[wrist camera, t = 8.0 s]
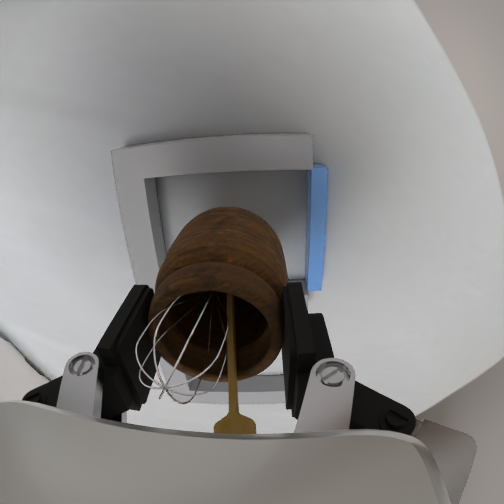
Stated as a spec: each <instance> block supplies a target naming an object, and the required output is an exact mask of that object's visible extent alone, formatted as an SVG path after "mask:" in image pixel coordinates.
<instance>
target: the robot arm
mask: <svg viewBox="0 0 504 504" xmlns="http://www.w3.org/2000/svg"><path fill="white" fill-rule="evenodd" d="M153 296H154V291H153V289H152V288H149V286H148V285H134V286H133V288H132V289H131V291H130V292H129V294H128V296H127V297H126V299H125V300H124V302H123V304H122V305H121V307H120V308H119V310H118V312H117V313H116V315H115V317H114V318H113V320H112V321H111V323H110V325H109V326H108V328H107V330H106V332H105V333H104V335H103V337H102V338H101V340H100V342H99V344H98V345H97V347H96V349H95V351H94V352H93V353H91V352H82V353H78V354H76V355H74V356H73V357H71V358H70V359H69V360H68V361H67V363H66V365H65V369H64V373H63V376H61V377H59V378H56V379H54V380H52V381H50V382H48V383H46V384H43V385H41V386H39V387H37V388H35V389H33V390H31V391H29V392H27V393H26V394H25V395H24V397H23V399H22V401H21V400H10V401H2V402H0V504H459V501H460V499H461V496H462V493H463V491H464V488H465V486H466V483H467V480H468V477H469V474H470V471H471V468H472V465H473V462H474V459H475V455H476V451H477V445H476V442H475V440H474V439H473V437H472V436H470V435H468V434H466V433H464V432H461V431H458V430H454V429H452V428H449V427H446V426H443V425H440V424H438V423H435V422H432V421H429V420H426V419H423V421H420V420H417V419H416V418H415V416H414V414H413V412H412V411H411V410H410V409H409V408H407V407H406V406H404V405H402V404H400V403H398V402H396V401H394V400H392V399H390V398H388V397H386V396H384V395H382V394H380V393H378V392H376V391H374V390H372V389H370V388H368V387H366V386H364V385H363V384H361V383H359V382H357V381H355V370H354V369H353V367H352V366H351V365H350V364H349V363H348V362H346V361H344V360H342V359H338V358H334V355H333V351H332V347H331V343H330V339H329V336H328V332H327V328H326V325H325V321H324V317H323V315H322V313H315V314H308V310H307V305H306V301H305V296H304V292H303V288H302V283H301V282H287V286H282V306H283V316H284V339H283V344H282V360H283V373H284V387H285V401H286V409H292V417H295V418H296V419H297V420H298V421H297V424H296V428H295V431H294V433H281V434H225V433H206V432H192V431H180V430H171V429H162V428H155V427H147V426H141V425H134V424H128V423H127V415H126V411H128V410H129V409H131V410H138V411H140V408H141V405H142V404H145V403H146V401H147V398H148V394H149V391H150V388H148V387H145V386H144V385H143V384H142V383H141V382H140V380H139V371H140V366H139V364H138V362H137V359H136V351H135V349H136V344H137V342H138V340H139V338H140V336H141V335H142V333H143V332H144V330H145V329H146V327H147V326H148V316H149V310H150V305H151V301H152V298H153ZM152 348H153V343H152V341H151V339H150V336H149V331H148V329H147V330H146V332H145V333H144V335H143V336H142V338H141V340H140V342H139V344H138V348H137V354H138V359H139V362H140V364H141V366H142V364H143V363H144V361H145V359H146V358H147V356H148V354H149V353H150V351H151V349H152ZM155 354H156V362H157V367H158V364H159V361H160V359H161V356H160V354H159V353H158V352H157V350H156V349H155ZM143 369H144V371H145V372H146V373H147V374H148V375H149V376H150V377H151V378H152V379H154V376H155V373H156V367H155V362H154V353H153V351H152V352H151V354H150V356H149V357H148V359H147V361H146V362H145V364H144V366H143ZM141 380H142V382H143V383H144V384H145V385H147V386H151V385H152V382H153V381H152V380H151V379H149V378H148V377H147V376H146V375H145V373H144V372H143V371H142V370H141Z"/></svg>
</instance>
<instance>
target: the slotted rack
mask: <svg viewBox="0 0 504 504" xmlns="http://www.w3.org/2000/svg"><path fill="white" fill-rule="evenodd" d="M111 155H112V162H113V170H114V177H115V183H116V190H117V196H118V202H119V207H120V213H121V218H122V224H123V229H124V234H125V238H126V243H127V248H128V252H129V257H130V261H131V265H132V269H133V273H134V278H135V281H136V285H148V286H149V288H152V289H153V291H154V293H155V284H156V279H157V275H158V272H159V269H160V267H161V264H162V262H163V260H164V258H165V257H166V250H165V244H164V238H163V232H162V225H161V219H160V212H159V205H158V198H157V191H156V183H155V177H165V176H176V175H188V174H201V173H216V172H235V171H259V170H308V179H307V232H306V260H305V280H292V281H288V282H301V283H302V288H303V292H304V296H305V301H306V305H307V308H308V291H319V290H321V289H322V277H323V265H324V250H325V234H326V215H327V189H328V168H327V167H326V166H324V165H323V164H313V135H310V134H308V133H273V134H243V135H225V136H211V137H199V138H188V139H179V140H170V141H162V142H154V143H147V144H140V145H133V146H127V147H122V148H119V149H116V150H113V151H111ZM159 362H160V365H161V368H162V371H163V374H164V376H165V379H166V382H167V381H168V378H169V376H170V374H171V372H172V370H173V368H174V367H173V366H171V365H170V364H169V363H167V362H166V361H165V360H164V359H163V358H162V357H161V359H160V361H159ZM192 378H194V377H191V376H189V375H186V374H184V373H182V372H180V371H179V370H177V369H175V371H174V373H173V375H172V377H171V379H170V381H169V383H168V386H173V385H177V384H180V383H183V382H186V381H188V380H190V379H192ZM199 381H200V379H197V378H196V379H194V380H192V381H191V382H188V383H186V384H183V385H181V386H177V387H173V388H169V389H171V390H173V391H176V392H179V393H184V394H194V393H195V391H196V388H197V386H198V383H199ZM215 383H216V382H211V381H205V380H201V383H200V385H199V388H198V390H197V393H196V394H199V393H203V392H205V391H207V390H209V389H210V388H212V387H213V386H214V385H215ZM237 385H238V404H278V403H286V401H285V387H284V375H268V376H253V377H250V378H247V379H244V380H240V381H237ZM170 393H171V395H172V397H173V398H174V399H176V400H177V401H179V402H187V401H189V400H190V399H191V398H192V397H193V396H185V395H180V394H177V393H174V392H171V391H170ZM173 401H174V400H173ZM174 402H175V401H174ZM189 403H207V404H229V397H228V382H218V383H217V385H216V386H215V387H214V388H213V389H212V390H211V391H209V392H207V393H205V394H202V395H198V396H195V397H194V398H193V399H192V401H190V402H189Z"/></svg>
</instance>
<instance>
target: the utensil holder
mask: <svg viewBox="0 0 504 504" xmlns="http://www.w3.org/2000/svg"><path fill="white" fill-rule="evenodd" d="M287 282H288V275H287V269H286V264H285V258H284V254H283V250H282V246H281V244H280V241H279V239H278V237H277V235H276V233H275V232H274V230H273V229H272V228H271V226H270V225H269V224H268V223H267V222H266V221H265V220H263V219H262V218H261V217H259V216H258V215H256V214H254V213H252V212H250V211H247V210H245V209H241V208H236V207H219V208H214V209H210V210H208V211H205V212H203V213H201V214H199V215H197V216H196V217H195V218H193V219H192V220H191V221H190V222H189V223H188V224H187V225H186V226H185V227H184V228H183V229H182V231H181V232H180V233H179V235H178V236H177V238H176V239H175V241H174V243H173V244H172V246H171V248H170V249H169V251H168V253H167V255H166V257H165V258H164V260H163V262H162V264H161V267H160V269H159V272H158V275H157V279H156V284H155V293H154V296H153V298H152V301H151V305H150V310H149V316H148V326H147V327H146V329H145V330H144V332H143V333H142V335H141V336H140V338H139V340H138V342H137V344H136V349H135V351H136V359H137V362H138V364H139V366H140V371H139V380H140V382H141V383H142V384H143V385H144V386H145V387H148V388H151V389H163V391H162V393H161V395H160V397H159V399H161V397H162V395H163V393H164V391H165V390H166V392H167V393H168V395H169V396H170V397H171V398H172V399H173V400H174V401H175V402H177V403H179V404H187V403H189V402H190V401H192V399H193V398H194V397H195V396H198V395H202V394H205V393H207V392H209V391H211V390H212V389H213V388H214V387H215V386H216V385H217V383H218V382H228V397H229V412H228V414H227V416H225V417H224V418H222V419H221V420H220V421H218V422H217V423H216V424H215V426H214V433H225V434H256V424H255V422H254V421H253V420H252V419H251V418H248V417H246V416H243V415H241V414H240V413H239V407H238V385H237V381H240V380H244V379H247V378H250V377H253V376H255V375H257V374H259V373H260V372H262V371H264V370H265V369H266V368H268V367H269V366H270V365H271V364H272V363H273V362H274V360H275V359H276V358H277V356H278V354H279V352H280V350H281V348H282V344H283V339H284V316H283V306H282V286H287ZM147 329H148V331H149V336H150V339H151V341H152V343H153V348H152V349H151V351H150V353H149V354H148V356H147V358H146V359H145V361H144V363H143V364H142V366H141V364H140V362H139V359H138V354H137V348H138V344H139V342H140V340H141V338H142V336H143V335H144V333H145V332H146V330H147ZM155 349H156V350H157V352H158V353H159V354H160V356H161V357H162V358H163V359H164V360H165V361H166V362H167V363H169V364H170V365H171V366H173V367H174V368H173V370H172V372H171V374H170V376H169V378H168V381H167V383H166V385H164V383H163V381H162V379H161V376H160V373H159V370H158V367H157V362H156V354H155ZM152 351H153V353H154V362H155V367H156V371H157V374H158V376H159V379H160V381H161V383H162V385H161V384H159V383H158V382H156V381H155V380H154V379H152V378H151V377H150V376H149V375H148V374H147V373H146V372H145V371H144V369H143V366H144V364H145V362H146V361H147V359H148V357H149V356H150V354H151V352H152ZM175 369H177V370H179V371H180V372H182V373H184V374H186V375H189V376H191V377H194V378H192V379H190V380H188V381H186V382H183V383H180V384H177V385H173V386H167V385H168V383H169V381H170V379H171V377H172V375H173V373H174V371H175ZM141 370H142V371H143V372H144V373H145V375H146V376H147V377H148V378H149V379H151V380H152V381H153V382H155V383H156V384H157V385H159V386H161V387H151V386H147V385H145V384H144V383H143V382H142V380H141ZM196 378H197V379H200V381H199V383H198V386H197V388H196V391H195V393H194V394H184V393H179V392H176V391H173V390H171V389H169V388H173V387H177V386H181V385H183V384H186V383H188V382H191V381H192V380H194V379H196ZM201 380H205V381H211V382H216V383H215V385H214V386H213V387H212V388H210V389H209V390H207V391H205V392H203V393H199V394H196V393H197V390H198V388H199V385H200V383H201ZM168 390H169V391H171V392H174V393H177V394H180V395H185V396H193V397H192V398H191V399H190V400H189V401H187V402H179V401H177V400H176V399H174V398H173V397H172V395H171V394H170V393H169V391H168Z"/></svg>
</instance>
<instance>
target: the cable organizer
mask: <svg viewBox="0 0 504 504" xmlns="http://www.w3.org/2000/svg"><path fill="white" fill-rule="evenodd" d="M48 382H50V381H49V380H48V379H47V378H46V377H44V376H43V375H40V374H39V373H37V372H36V371H35V370H34V369H33V368H32V367H31V366H30V365H29V364H28V363H27V362H26V361H25V358H24V356H23V355H22V354H21V353H20V352H19V351H18V350H17V349H16V348H15V347H14V346H13V345H12V344H11V343H10V342H9V341H7V342H6V341H5V340H4V339H2V338H0V402H2V401H10V400H21V401H22V399H23V397H24V395H25V394H26V393H27V392H29V391H31V390H33V389H35V388H37V387H39V386H41V385H43V384H46V383H48Z"/></svg>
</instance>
